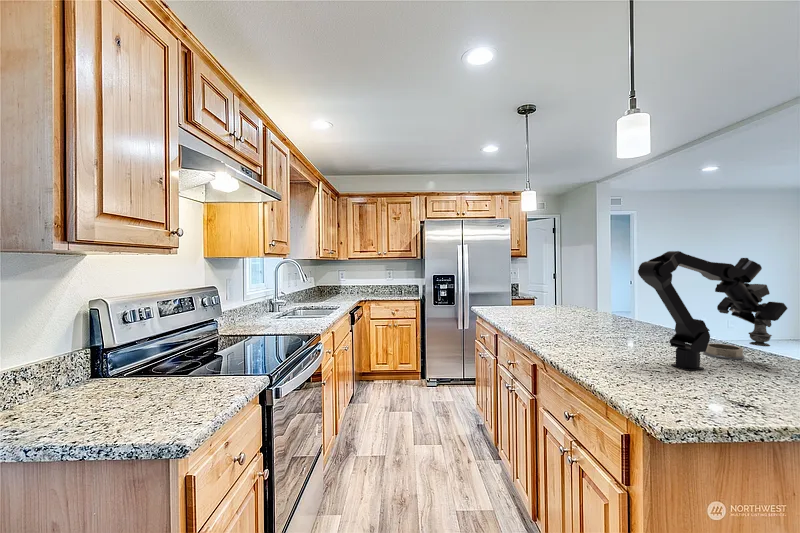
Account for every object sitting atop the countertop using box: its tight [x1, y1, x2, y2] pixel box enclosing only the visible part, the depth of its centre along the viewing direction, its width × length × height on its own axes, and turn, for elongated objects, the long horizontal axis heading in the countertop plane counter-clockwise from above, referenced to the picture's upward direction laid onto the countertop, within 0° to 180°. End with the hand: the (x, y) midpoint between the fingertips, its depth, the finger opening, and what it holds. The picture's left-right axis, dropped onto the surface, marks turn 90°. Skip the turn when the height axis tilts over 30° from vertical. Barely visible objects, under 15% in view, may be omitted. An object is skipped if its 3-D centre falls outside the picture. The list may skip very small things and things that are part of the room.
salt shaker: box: [748, 312, 773, 347], centre depth 132 cm, size 6×6×12 cm
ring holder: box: [702, 342, 745, 361], centre depth 144 cm, size 12×12×3 cm
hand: (763, 325), depth 133 cm, fingers closed on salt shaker, 4 cm apart
